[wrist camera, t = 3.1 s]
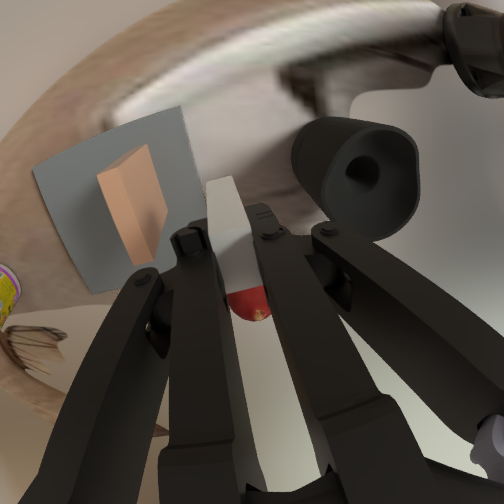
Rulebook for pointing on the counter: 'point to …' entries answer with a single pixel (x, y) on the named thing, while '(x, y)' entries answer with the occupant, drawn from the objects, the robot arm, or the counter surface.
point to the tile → (135, 202)
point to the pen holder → (359, 173)
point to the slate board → (94, 204)
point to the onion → (249, 303)
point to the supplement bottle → (7, 292)
